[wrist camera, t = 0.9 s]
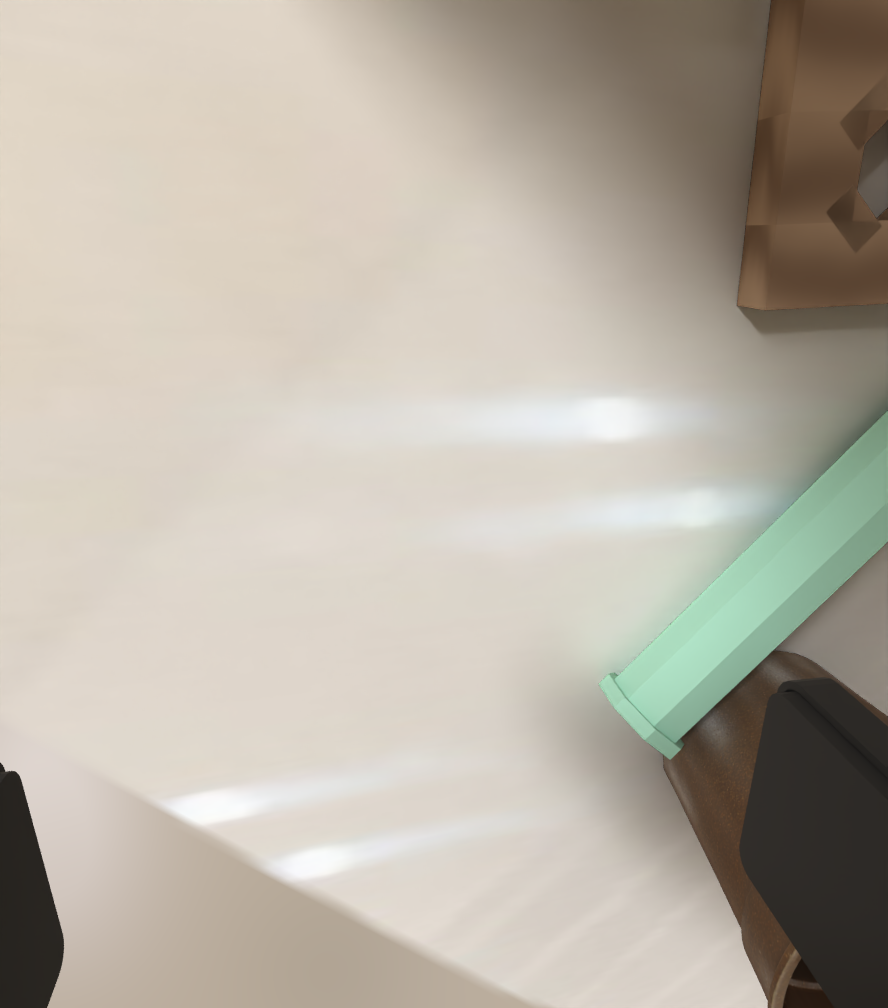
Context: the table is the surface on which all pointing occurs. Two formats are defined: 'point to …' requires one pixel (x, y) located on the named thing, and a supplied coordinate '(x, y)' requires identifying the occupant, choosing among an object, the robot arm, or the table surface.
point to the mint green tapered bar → (759, 598)
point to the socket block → (817, 159)
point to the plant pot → (721, 811)
